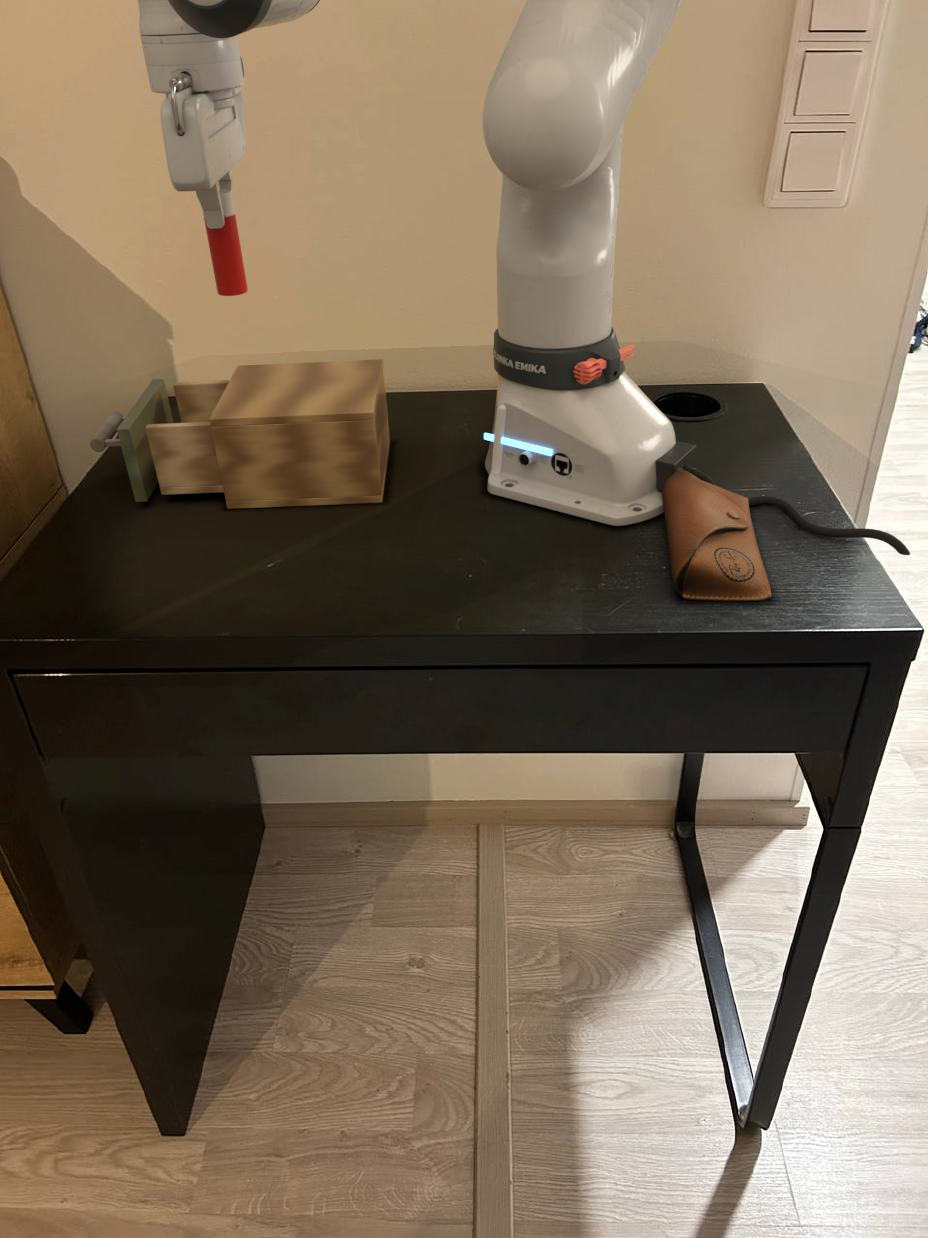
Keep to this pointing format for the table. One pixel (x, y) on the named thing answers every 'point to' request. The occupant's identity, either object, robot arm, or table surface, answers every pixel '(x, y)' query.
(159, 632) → the table surface
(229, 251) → the glue stick
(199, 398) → the drawer
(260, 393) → the cabinet
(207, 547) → the table surface
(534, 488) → the robot arm
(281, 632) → the table surface
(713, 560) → the sunglasses case
